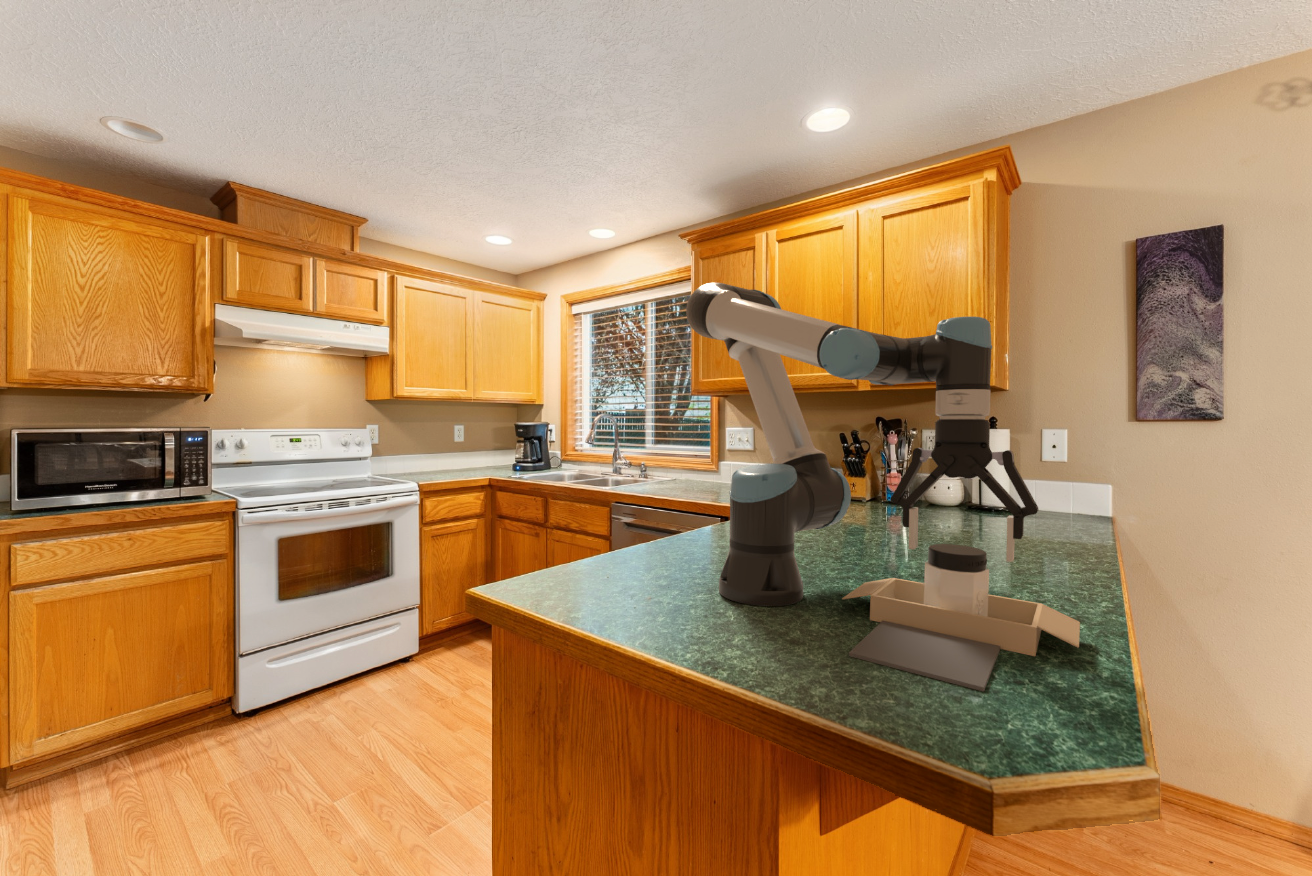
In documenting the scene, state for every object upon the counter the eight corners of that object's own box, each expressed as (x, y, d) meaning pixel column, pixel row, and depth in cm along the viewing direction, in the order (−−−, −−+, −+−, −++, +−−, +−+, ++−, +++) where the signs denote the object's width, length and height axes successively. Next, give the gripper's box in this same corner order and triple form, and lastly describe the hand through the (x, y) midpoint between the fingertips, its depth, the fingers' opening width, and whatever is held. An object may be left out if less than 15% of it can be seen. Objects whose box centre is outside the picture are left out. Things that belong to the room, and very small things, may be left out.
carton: (840, 613, 95) (841, 588, 95) (865, 594, 105) (866, 572, 105) (1078, 665, 76) (1079, 635, 76) (1079, 636, 86) (1080, 609, 86)
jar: (965, 638, 85) (968, 558, 84) (914, 622, 91) (916, 547, 91) (996, 627, 90) (998, 551, 89) (945, 612, 96) (947, 541, 96)
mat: (848, 656, 78) (849, 652, 78) (882, 623, 90) (882, 620, 90) (983, 691, 68) (984, 687, 68) (1000, 649, 81) (1000, 646, 81)
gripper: (872, 418, 94) (870, 546, 94) (1058, 417, 79) (1055, 571, 79) (885, 418, 100) (883, 539, 100) (1060, 418, 85) (1057, 561, 85)
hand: (959, 554), depth 90 cm, fingers open, 13 cm apart
